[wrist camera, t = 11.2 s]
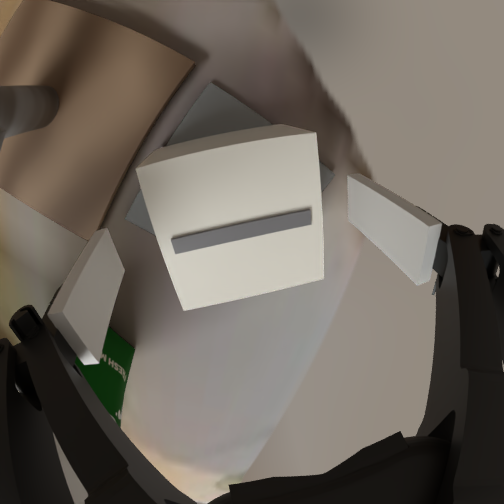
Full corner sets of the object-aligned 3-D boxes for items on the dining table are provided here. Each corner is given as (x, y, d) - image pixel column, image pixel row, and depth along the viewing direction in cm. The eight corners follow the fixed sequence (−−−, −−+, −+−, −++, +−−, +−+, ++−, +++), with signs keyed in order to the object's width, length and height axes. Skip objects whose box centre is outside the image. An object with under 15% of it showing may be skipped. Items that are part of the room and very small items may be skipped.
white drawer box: (186, 258, 21) (183, 313, 15) (155, 149, 17) (134, 169, 11) (294, 234, 21) (325, 280, 16) (281, 123, 17) (317, 133, 12)
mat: (126, 216, 19) (124, 219, 18) (209, 82, 15) (209, 82, 15) (247, 280, 23) (248, 283, 23) (332, 173, 20) (335, 174, 19)
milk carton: (40, 327, 22) (-11, 496, 5) (86, 292, 21) (26, 519, 4) (96, 374, 27) (78, 532, 10) (148, 350, 26) (145, 548, 9)
